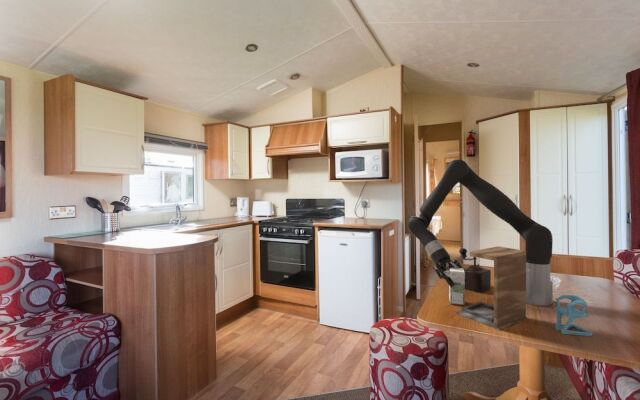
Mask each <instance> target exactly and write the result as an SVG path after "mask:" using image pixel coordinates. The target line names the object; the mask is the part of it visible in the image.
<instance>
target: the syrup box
mask: <svg viewBox="0 0 640 400" xmlns="http://www.w3.org/2000/svg"><path fill="white" fill-rule="evenodd" d="M463 268H464V267H463ZM463 268H450V271H449V277H450V278H451V279H452V281H453V282H454V284H455V285H454V286H452V287H450V286H449V285H448V300H449V303H450V304H451V305H460V306H465V304H466V303H465V300H466V299H465V294H466V293H465V272H464V270H463Z"/></svg>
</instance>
